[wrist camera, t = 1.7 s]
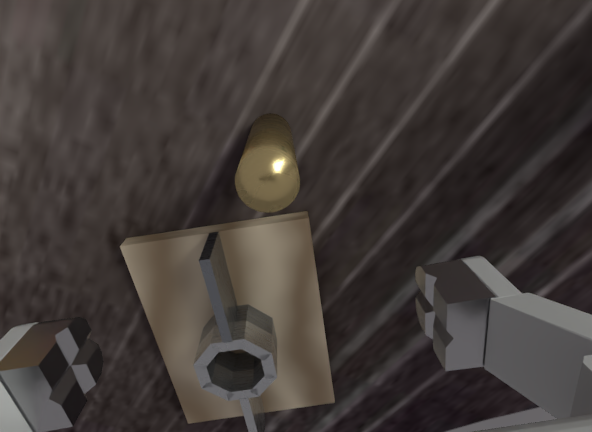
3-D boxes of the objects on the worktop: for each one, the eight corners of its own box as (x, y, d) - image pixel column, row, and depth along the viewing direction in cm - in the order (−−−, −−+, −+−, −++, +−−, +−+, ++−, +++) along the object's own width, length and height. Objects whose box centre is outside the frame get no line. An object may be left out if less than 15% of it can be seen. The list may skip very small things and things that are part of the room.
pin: (287, 110, 28) (294, 146, 17) (294, 151, 30) (304, 207, 19) (247, 116, 28) (228, 156, 18) (254, 156, 30) (242, 216, 19)
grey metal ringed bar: (253, 226, 31) (249, 253, 26) (291, 408, 39) (293, 449, 35) (175, 238, 31) (159, 266, 27) (231, 417, 40) (225, 459, 35)
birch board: (307, 210, 32) (308, 217, 31) (332, 390, 41) (335, 402, 39) (126, 238, 32) (119, 246, 31) (191, 411, 41) (188, 423, 40)
